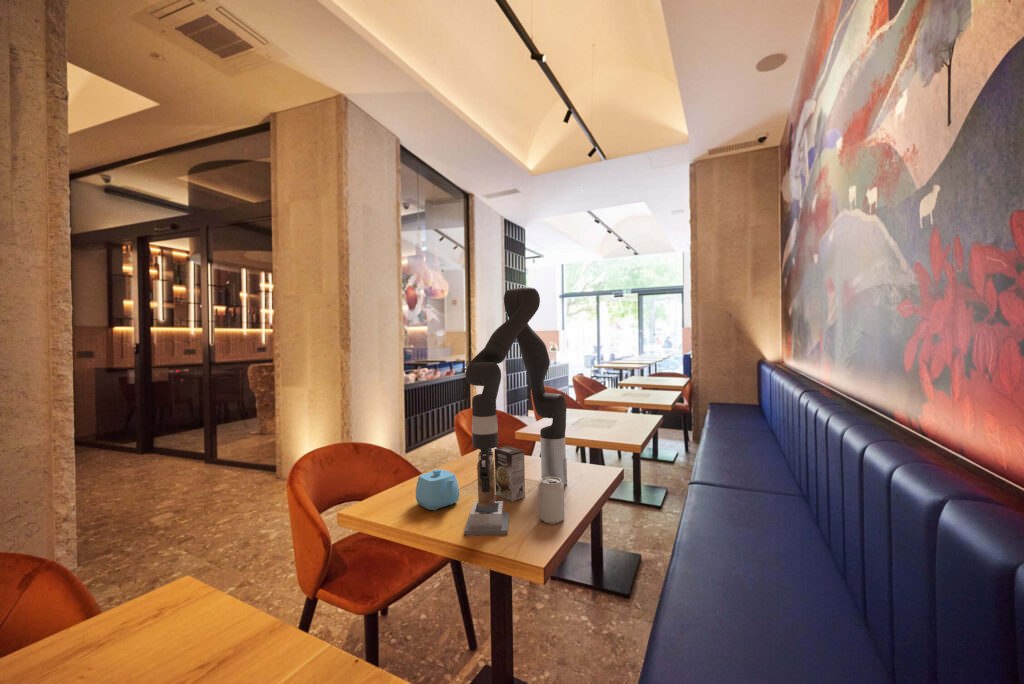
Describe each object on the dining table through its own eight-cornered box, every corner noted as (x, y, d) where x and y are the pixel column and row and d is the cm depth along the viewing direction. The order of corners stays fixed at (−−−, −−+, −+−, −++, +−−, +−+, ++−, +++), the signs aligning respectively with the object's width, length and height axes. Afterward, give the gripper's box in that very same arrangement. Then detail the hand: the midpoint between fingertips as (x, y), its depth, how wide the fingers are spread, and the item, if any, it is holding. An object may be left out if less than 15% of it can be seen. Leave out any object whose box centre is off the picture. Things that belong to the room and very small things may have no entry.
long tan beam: (495, 500, 122) (494, 459, 122) (494, 506, 118) (492, 464, 118) (480, 500, 122) (478, 460, 122) (478, 506, 118) (477, 464, 118)
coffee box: (494, 494, 143) (493, 448, 143) (508, 489, 147) (507, 445, 147) (511, 502, 136) (510, 453, 136) (526, 496, 141) (524, 449, 140)
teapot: (437, 520, 125) (436, 482, 125) (410, 503, 138) (409, 469, 138) (471, 508, 133) (470, 472, 133) (442, 493, 146) (441, 461, 146)
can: (548, 527, 118) (547, 485, 117) (534, 517, 124) (533, 478, 124) (569, 521, 121) (568, 480, 121) (555, 512, 128) (554, 473, 128)
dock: (508, 515, 126) (508, 498, 126) (507, 534, 114) (506, 515, 114) (469, 516, 126) (469, 499, 126) (464, 535, 114) (463, 516, 114)
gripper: (496, 435, 113) (498, 498, 113) (499, 424, 127) (500, 480, 127) (468, 436, 113) (470, 498, 113) (474, 425, 127) (476, 480, 127)
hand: (486, 488), depth 120 cm, fingers closed on long tan beam, 4 cm apart
